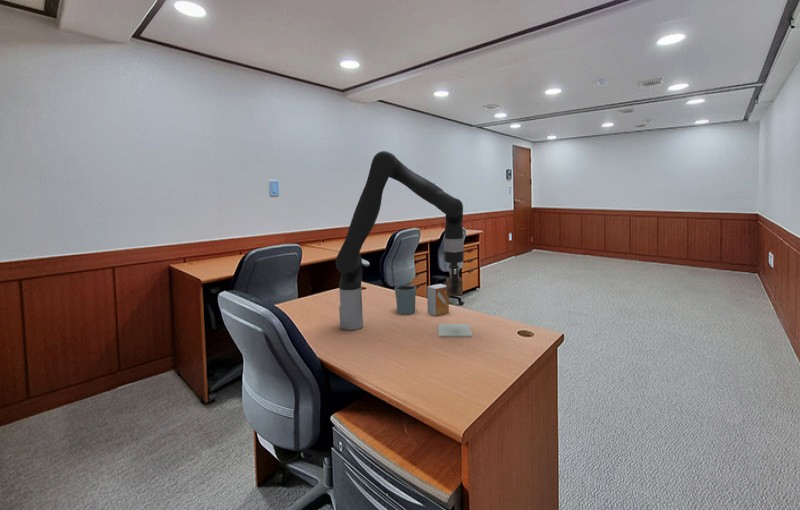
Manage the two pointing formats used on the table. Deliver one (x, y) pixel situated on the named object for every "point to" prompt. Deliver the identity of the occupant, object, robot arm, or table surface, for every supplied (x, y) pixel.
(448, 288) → the cube
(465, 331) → the pad
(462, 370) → the table surface
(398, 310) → the grey cup
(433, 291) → the small box
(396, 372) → the table surface
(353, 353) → the table surface
